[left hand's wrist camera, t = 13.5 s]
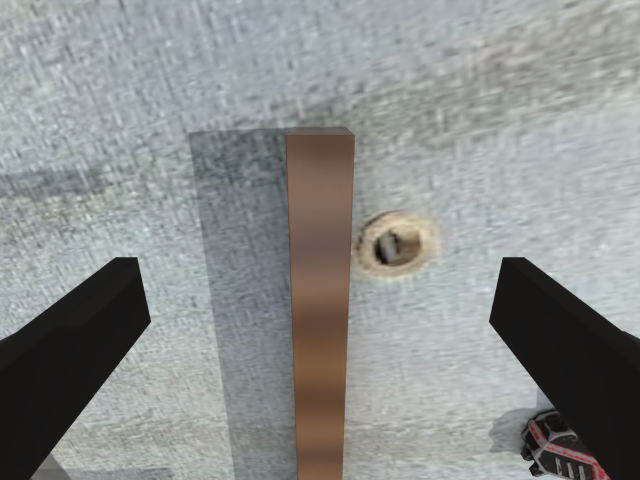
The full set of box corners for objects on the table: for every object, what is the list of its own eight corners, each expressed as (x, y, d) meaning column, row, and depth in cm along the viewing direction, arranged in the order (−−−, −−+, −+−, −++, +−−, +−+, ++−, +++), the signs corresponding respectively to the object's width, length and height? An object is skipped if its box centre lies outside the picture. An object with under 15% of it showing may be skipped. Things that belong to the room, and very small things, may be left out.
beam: (293, 127, 34) (285, 134, 26) (346, 127, 34) (354, 134, 26) (303, 486, 54) (300, 554, 46) (336, 486, 54) (339, 554, 46)
